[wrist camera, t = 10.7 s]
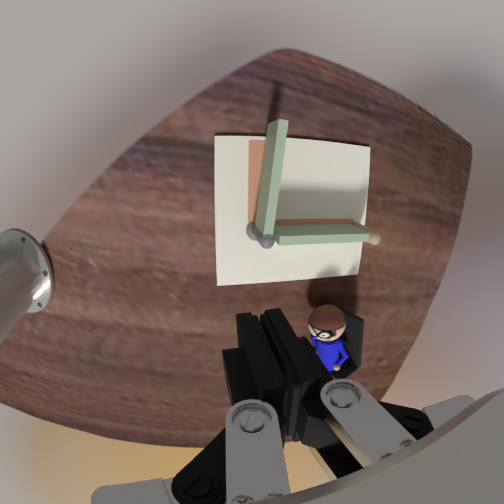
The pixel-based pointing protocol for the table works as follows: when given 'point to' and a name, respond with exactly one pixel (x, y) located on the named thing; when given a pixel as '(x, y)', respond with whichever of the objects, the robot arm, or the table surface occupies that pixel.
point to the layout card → (287, 208)
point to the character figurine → (337, 339)
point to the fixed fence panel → (324, 234)
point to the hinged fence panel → (270, 183)
